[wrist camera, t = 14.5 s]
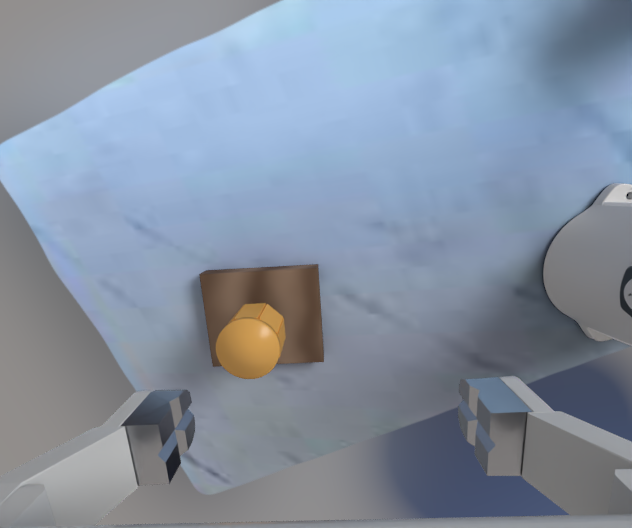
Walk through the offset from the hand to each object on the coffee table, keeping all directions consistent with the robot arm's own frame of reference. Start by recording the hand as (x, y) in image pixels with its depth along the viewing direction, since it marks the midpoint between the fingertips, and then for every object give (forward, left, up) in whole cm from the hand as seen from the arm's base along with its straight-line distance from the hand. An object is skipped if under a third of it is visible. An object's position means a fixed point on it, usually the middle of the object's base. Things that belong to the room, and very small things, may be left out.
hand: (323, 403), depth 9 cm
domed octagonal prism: (+8, +8, -24) cm, 27 cm away
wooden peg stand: (+8, +8, -29) cm, 31 cm away
